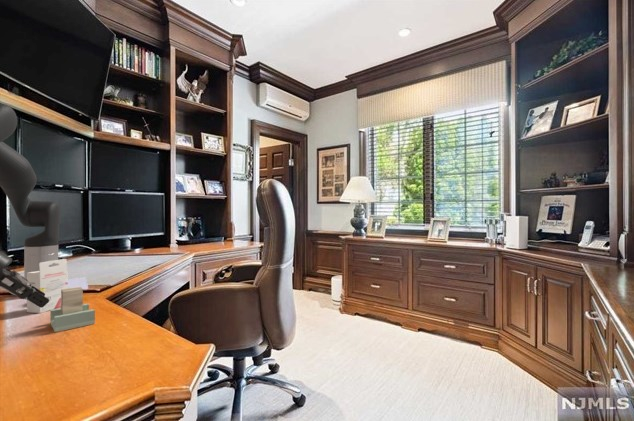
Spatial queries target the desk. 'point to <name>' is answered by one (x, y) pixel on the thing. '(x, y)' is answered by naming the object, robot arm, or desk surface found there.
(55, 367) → the desk surface
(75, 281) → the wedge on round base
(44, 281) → the ink cartridge box
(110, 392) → the desk surface
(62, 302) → the birch block
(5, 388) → the desk surface
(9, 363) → the desk surface
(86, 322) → the sage green grooved bar
